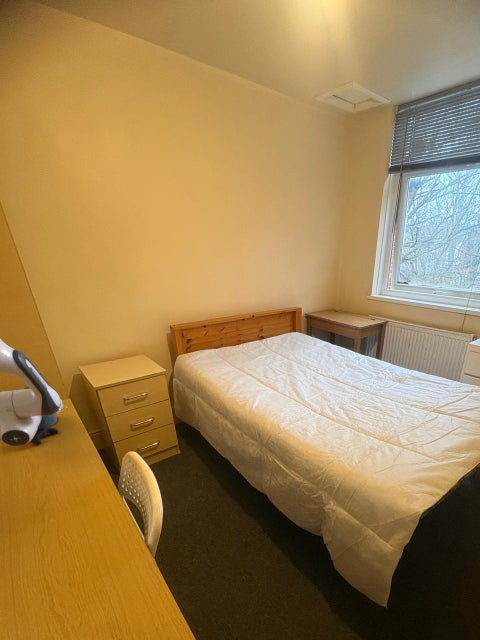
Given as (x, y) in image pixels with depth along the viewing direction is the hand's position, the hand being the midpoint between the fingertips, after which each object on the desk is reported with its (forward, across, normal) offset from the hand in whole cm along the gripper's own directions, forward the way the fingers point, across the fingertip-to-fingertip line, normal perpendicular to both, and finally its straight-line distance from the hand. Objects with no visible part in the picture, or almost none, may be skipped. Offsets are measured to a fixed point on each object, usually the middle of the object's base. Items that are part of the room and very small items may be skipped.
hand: (34, 401), depth 128 cm
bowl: (-1, 0, +10) cm, 10 cm away
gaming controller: (-14, -2, +10) cm, 17 cm away
